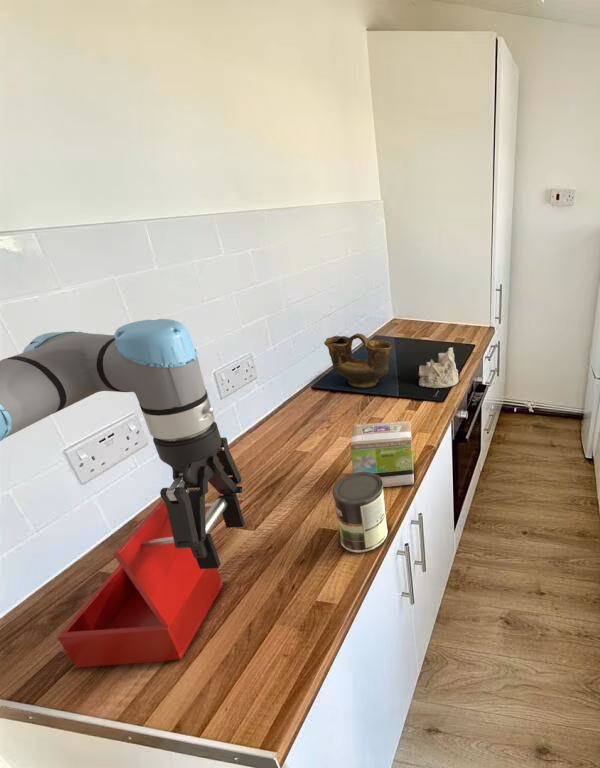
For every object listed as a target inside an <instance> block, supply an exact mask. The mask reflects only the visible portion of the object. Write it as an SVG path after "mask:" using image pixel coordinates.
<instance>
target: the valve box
mask: <svg viewBox="0 0 600 768" xmlns="http://www.w3.org/2000/svg"><path fill="white" fill-rule="evenodd" d="M223 586H224V584H223V580H222V577H221V575H220V571H219V568H210V569H205V570H204V572H203V574H202V575H201V577H200V578H199V580H198V581H197V583H196V585H195V586H194V588H193V589H192V591H191V593H190V594H189V596H188V597H187V599H186V601H185V602H184V604H183V605H182V607H181V608H180V610H179V612H178V613H177V615H176V616H175V618H174V620H173V621H172V623H171V624H170V626H169V627H166V628H164V627H163V626H162V624H161V623H160V622H159V620H158V619H157V617H156V616H155V614H154V613H153V611H152V610H151V608H150V607H149V606H148V604H147V603H146V601H145V600H144V598H143V597H142V595H141V594H140V592H139V591H138V590H137V588H136V587H135V585H134V584H133V582H132V581H131V579H130V578H129V576H128V575H127V574H126V572H125V571H124V569H123V568H122V566H121V565H120V563H119V565H117V567H116V568H115V569H114V570H113V571H112V572H111V574H110V575H109V576H108V577H107V578H106V579H105V581H104V582H103V583H102V584H101V585H100V587H98V589H97V590H96V591H95V592H94V593H93V595H92V596H91V597H90V598H89V599H88V600H87V602H86V603H85V604H84V605H83V606H82V608H80V610H79V611H78V612H77V613H76V615H74V617H73V618H72V619H71V620H70V621H69V622H68V624H67V625H66V626H65V627H64V629H62V630H61V632H60V633H59V634H58V635H57V636H56V638H57V640H58V641H59V643H60V644H61V646H62V648H63V649H64V651H65V652H66V654H67V656H68V658H69V659H70V660H71V662H72V663H73V665H74V666H75V668H76V669H78V668H91V667H101V666H102V667H104V666H105V667H106V666H116V665H129V664H141V663H142V664H143V663H154V662H166V661H179V660H182V659H183V657H184V655H185V653H186V652H187V650H188V648H189V646H190V644H191V643H192V641H193V639H194V638H195V635H196V634H197V632H198V630H199V629H200V627H201V625H202V623H203V621H204V619H206V616H207V614H208V613H209V611H210V609H211V607H212V606H213V603H214V601H215V600H216V598H217V596H218V595H219V593H220V591H221V589H222V587H223Z"/></svg>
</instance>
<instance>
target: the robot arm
mask: <svg viewBox="0 0 600 768" xmlns="http://www.w3.org/2000/svg"><path fill="white" fill-rule="evenodd" d="M113 334H114V335H113ZM113 334H103V333H89V332H84V331H74V330H70V331H53V332H46V333H43V334H40V335H37V336H36V337H34V338H33V339H32V340H31V342H29V344H27V345H26V346H25V347H24V349H23V351H22V353H18V354H15V355H12V356H9V357H6V358H2V359H1V360H0V442H2V441H3V440H5V439H6V438H9V437H10V436H12V435H14V434H16V433H19V432H20V431H22V430H24V429H26V428H27V427H30V426H32V425H34V424H36V423H38V422H39V421H42V420H43V419H46V418H48V417H50V416H51V415H54V414H57V413H58V412H60V411H62V410H64V409H66V408H68V407H71V406H72V405H74V404H76V403H78V402H81V401H82V400H84V399H87V398H88V397H91V396H93V395H95V394H97V393H100V392H114V393H115V392H116V393H134V394H135V397H136V400H137V401H138V404H139V408H140V411H141V413H142V416H143V418H144V421H145V424H146V428H147V429H148V432H149V435H150V436H152V441H153V444H154V446H155V450H156V452H157V455H158V458H159V459H160V461H162V462H163V463H165V464H166V465H168V466H170V467H171V470H172V479H173V481H172V483H171V484H170V486H169V487H162V488H161V489H160V493H159V495H160V497H161V498H162V499H163V500H164V502H165V503H166V507H167V512H168V516H169V521H170V525H171V530H172V534H173V539H174V543H175V547H176V548H191V551H192V553H193V556H194V557H195V558H196V560H197V562H198V565H199V568H200V569H210V568H217V569H219V568H220V567H221V565H222V563H221V559H220V557H219V555H218V552H217V549H216V545H215V543H214V539H213V537H212V534H211V533H209V534H206V521H205V514H206V510H205V504H206V498H205V496H206V494H208V493H209V484H210V485H211V486H212V487H213V488H214V490H216V491H217V492H218V494H220V495H219V496H218V497H217V498H216V500H217V499H219V498H223V499H225V500H227V501H228V506H227V507H226V509H225V510H224V512H223V513H222V515H221V516H222V518H223V521H224V524H225V527H226V529H231V528H244V526H246V522H245V519H244V515H243V512H242V509H241V506H240V502H239V497H238V495H237V494H242V492H243V489H244V488H243V486H242V485H239V484H241V483H242V480H243V478H242V475H241V474H240V473H241V472H240V471H239V469H238V467H237V465H236V461H235V460H234V457H233V455H232V453H231V451H230V448H229V443H228V439H227V437H226V436H225V437H223V436H221V433H220V430H219V427H218V423H217V422H216V421H215V415H214V407H212V405H211V402H210V400H209V396H208V395H209V394H208V391H207V389H206V386H205V382H204V379H203V374H202V371H201V366H200V362H199V359H198V351H197V348H196V346H194V343H193V340H192V337H191V335H190V332H189V329H188V328H187V326H186V325H185V324H184V323H182V322H180V321H178V320H175V319H170V318H158V319H144V320H143V319H142V320H138V321H133V322H129V323H126V324H123V325H121V326H120V327H118V328H117V329H116V330H115V331H114V333H113ZM162 499H161V500H162Z"/></svg>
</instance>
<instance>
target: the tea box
mask: <svg viewBox="0 0 600 768" xmlns="http://www.w3.org/2000/svg"><path fill="white" fill-rule="evenodd" d="M411 423H412V422H411V420H398V421H397V420H396V421H384V422H368V423H367V422H366V423H354V424H352V431H351V438H350V445H349V446H350V455H351V465H352V473H357V472H370V473H374V474H377V475H378V476H380V477H381V479H382V480H383V488H386V487H387V488H388V487H397V486H410V485H414V482H415V481H414V479H415V477H414V473H415V472H414V453H413V451H414V449H413V435H412V426H411V425H412V424H411Z"/></svg>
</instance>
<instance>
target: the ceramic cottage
mask: <svg viewBox="0 0 600 768" xmlns="http://www.w3.org/2000/svg"><path fill="white" fill-rule="evenodd" d="M437 355H438V357H437V362H436V361H434V360H433V358H431V359H430V361H427V362H426V365H419V368H418V370H419V371H418V376H419V377H420V378H419V379H418V385H419V386H420V387H426V388H433V389H442V388H450V387H454V386H455V385H457V384H458V383H459V370H458V369H457V366H456V362H455V353H454V347H448V350H447V351H446V352H439V353H437Z"/></svg>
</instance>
